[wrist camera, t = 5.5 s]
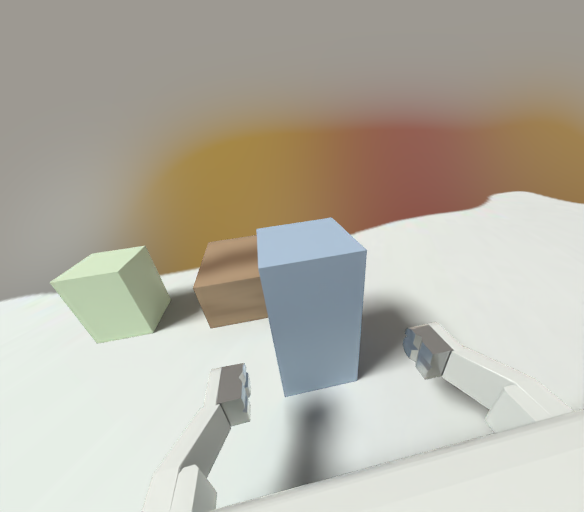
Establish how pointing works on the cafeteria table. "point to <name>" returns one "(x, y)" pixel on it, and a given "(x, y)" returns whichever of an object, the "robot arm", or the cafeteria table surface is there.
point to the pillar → (313, 301)
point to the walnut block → (230, 282)
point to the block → (115, 294)
